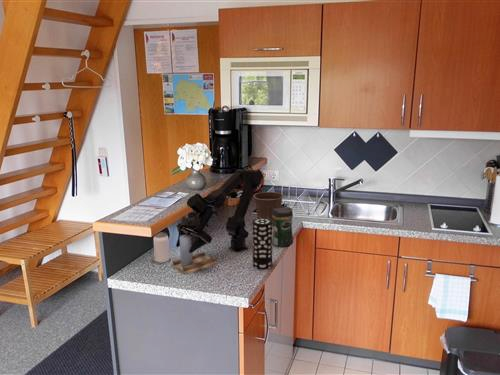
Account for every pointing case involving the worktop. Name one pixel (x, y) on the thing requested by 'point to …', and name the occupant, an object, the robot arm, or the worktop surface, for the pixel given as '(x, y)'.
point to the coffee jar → (282, 226)
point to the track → (195, 263)
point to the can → (161, 247)
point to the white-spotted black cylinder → (262, 243)
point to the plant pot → (267, 204)
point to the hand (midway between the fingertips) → (183, 249)
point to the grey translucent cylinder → (185, 250)
